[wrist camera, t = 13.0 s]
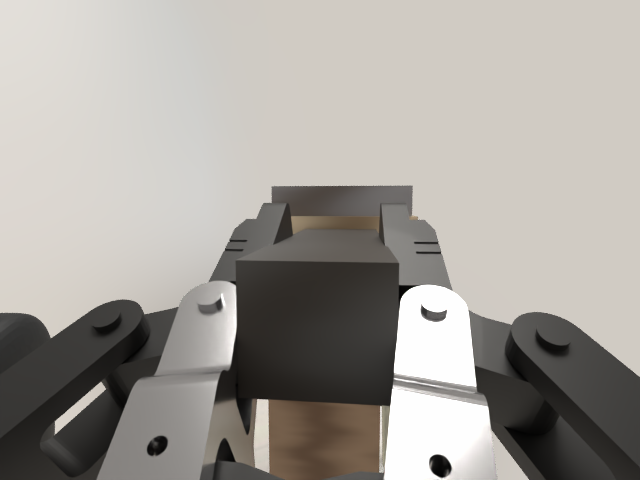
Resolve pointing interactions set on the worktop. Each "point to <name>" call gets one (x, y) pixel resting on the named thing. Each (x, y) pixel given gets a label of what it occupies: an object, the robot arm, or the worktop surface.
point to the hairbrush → (322, 301)
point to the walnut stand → (322, 439)
